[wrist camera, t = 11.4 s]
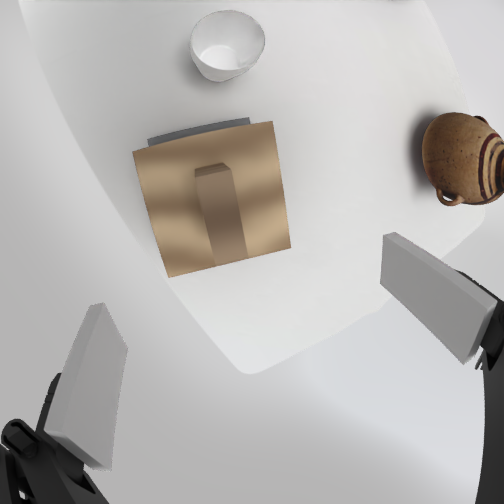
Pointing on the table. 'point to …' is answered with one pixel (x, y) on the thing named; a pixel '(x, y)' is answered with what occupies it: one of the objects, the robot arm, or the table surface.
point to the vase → (464, 159)
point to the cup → (226, 44)
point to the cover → (214, 197)
